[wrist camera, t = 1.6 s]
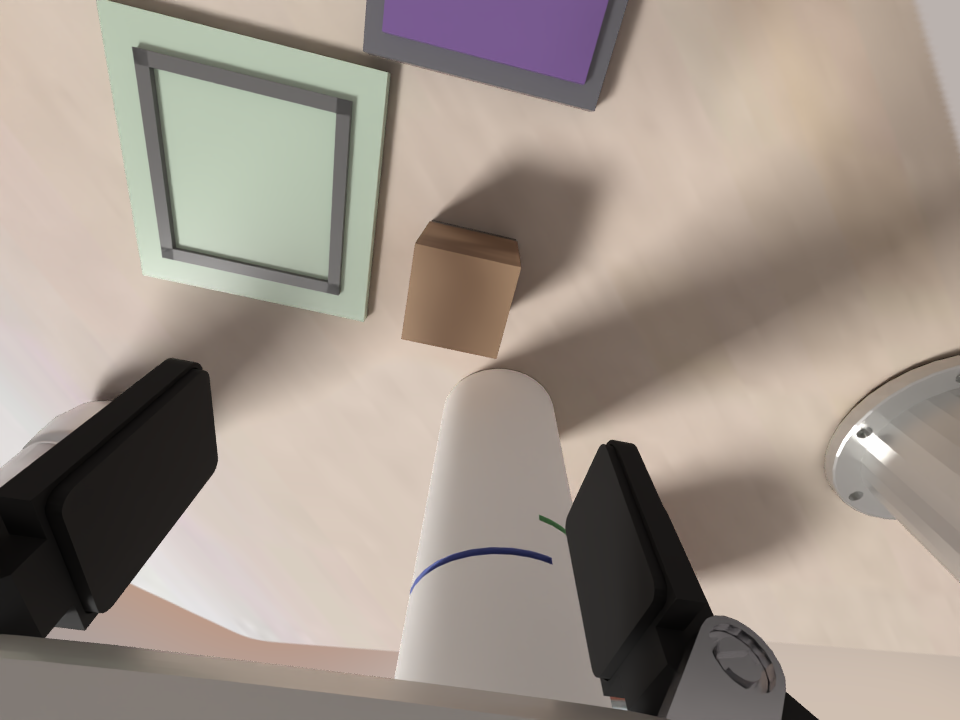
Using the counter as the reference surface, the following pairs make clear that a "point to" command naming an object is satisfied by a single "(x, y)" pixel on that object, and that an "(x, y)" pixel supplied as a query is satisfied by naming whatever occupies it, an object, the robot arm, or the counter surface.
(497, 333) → the stamp
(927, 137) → the counter surface
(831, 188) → the counter surface
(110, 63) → the board
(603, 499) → the robot arm
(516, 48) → the ink pad
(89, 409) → the plastic bottle
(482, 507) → the cylindrical container
